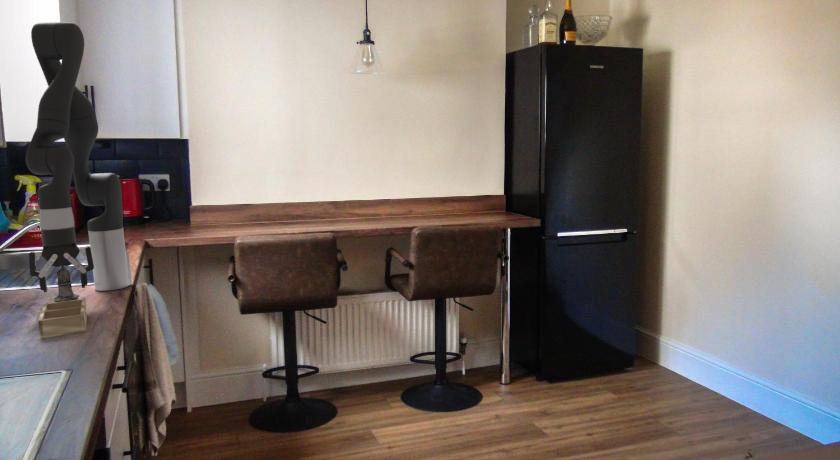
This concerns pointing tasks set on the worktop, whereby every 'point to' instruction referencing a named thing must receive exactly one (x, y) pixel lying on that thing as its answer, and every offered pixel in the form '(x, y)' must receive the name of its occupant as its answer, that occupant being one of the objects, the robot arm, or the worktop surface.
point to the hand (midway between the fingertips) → (64, 289)
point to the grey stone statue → (64, 286)
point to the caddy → (63, 318)
